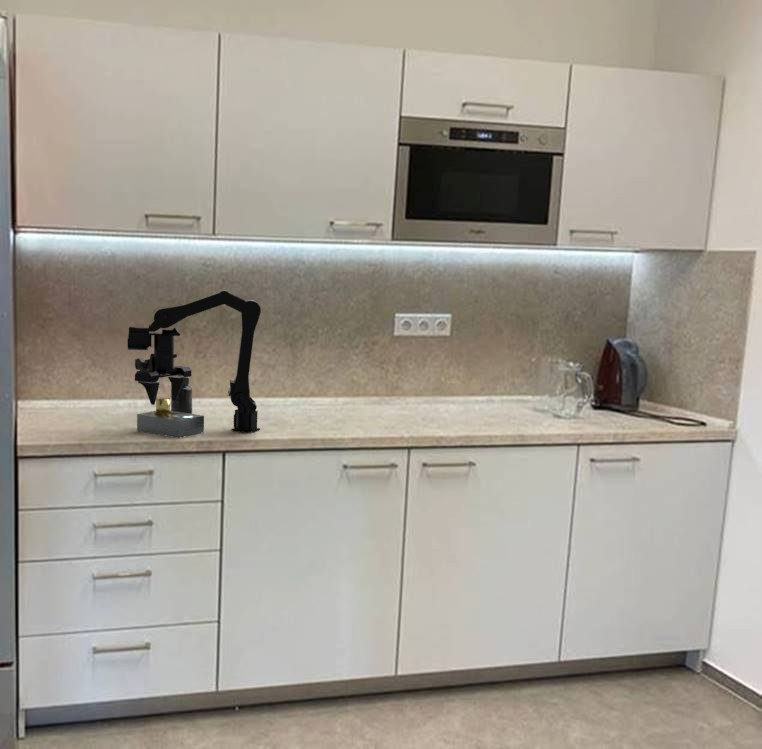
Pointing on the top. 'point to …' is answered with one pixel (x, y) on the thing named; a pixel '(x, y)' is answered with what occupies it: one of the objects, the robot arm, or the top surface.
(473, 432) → the top surface
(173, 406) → the supplement bottle
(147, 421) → the housing
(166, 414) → the brass cap
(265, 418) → the top surface
